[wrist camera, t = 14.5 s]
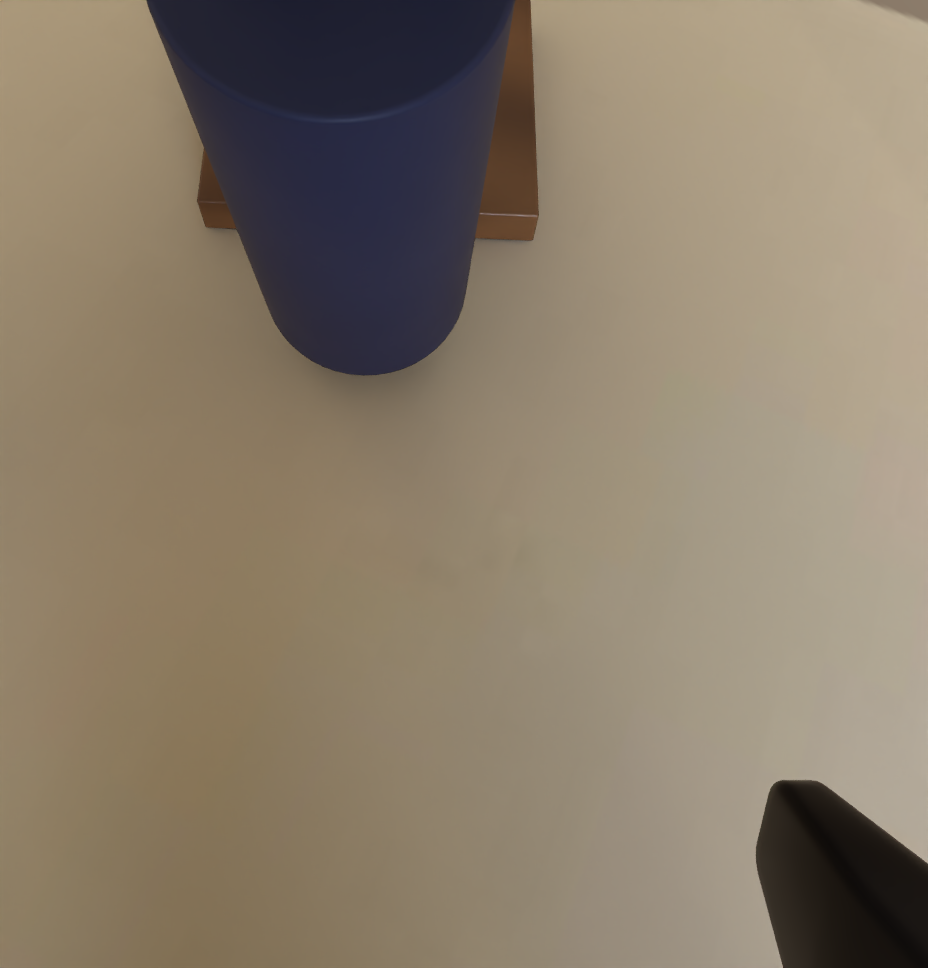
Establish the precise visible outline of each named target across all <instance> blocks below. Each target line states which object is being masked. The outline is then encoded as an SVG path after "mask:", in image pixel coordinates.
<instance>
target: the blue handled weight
mask: <svg viewBox="0 0 928 968" xmlns="http://www.w3.org/2000/svg"><path fill="white" fill-rule="evenodd" d="M146 1H147V4H148V7H149V10H150V13H151V15H152V18H153V20H154V23H155V25H156V28H157V30H158V33H159V35H160V38H161V40H162V43H163V45H164V48H165V50H166V53H167V55H168V58H169V60H170V63H171V65H172V68H173V70H174V73H175V75H176V78H177V80H178V83H179V85H180V88H181V90H182V93H183V95H184V98H185V100H186V103H187V105H188V108H189V110H190V113H191V115H192V118H193V121H194V123H195V126H196V128H197V131H198V133H199V136H200V138H201V141H202V143H203V146H204V148H205V151H206V153H207V156H208V158H209V161H210V163H211V166H212V168H213V171H214V173H215V176H216V178H217V181H218V183H219V186H220V188H221V191H222V193H223V196H224V198H225V201H226V203H227V206H228V208H229V211H230V213H231V216H232V218H233V221H234V223H235V226H236V228H237V231H238V233H239V236H240V239H241V241H242V244H243V246H244V249H245V251H246V254H247V256H248V259H249V261H250V264H251V266H252V269H253V271H254V274H255V276H256V279H257V281H258V284H259V286H260V289H261V291H262V294H263V296H264V299H265V301H266V304H267V306H268V309H269V311H270V314H271V316H272V318H273V320H274V322H275V324H276V326H277V327H278V329H279V330H280V332H281V333H282V335H283V336H284V337H285V338H286V340H287V341H288V342H289V343H290V344H291V345H292V346H293V347H294V348H295V349H296V350H298V351H299V352H300V353H301V354H302V355H304V356H305V357H307V358H308V359H310V360H311V361H313V362H315V363H317V364H319V365H321V366H323V367H326V368H328V369H331V370H334V371H337V372H342V373H346V374H353V375H379V374H385V373H391V372H394V371H397V370H401V369H404V368H406V367H408V366H410V365H413V364H415V363H417V362H418V361H420V360H422V359H423V358H425V357H426V356H428V355H429V354H430V353H431V352H433V351H434V350H435V349H436V348H437V347H438V346H439V345H440V344H441V343H442V342H443V341H444V340H445V339H446V337H447V336H448V335H449V333H450V332H451V331H452V329H453V327H454V325H455V324H456V322H457V320H458V318H459V315H460V312H461V310H462V307H463V303H464V298H465V294H466V288H467V282H468V276H469V270H470V264H471V258H472V252H473V247H474V241H475V235H476V229H477V223H478V217H479V211H480V205H481V199H482V193H483V188H484V182H485V176H486V170H487V164H488V158H489V152H490V146H491V140H492V134H493V128H494V123H495V117H496V111H497V105H498V99H499V93H500V87H501V81H502V75H503V69H504V64H505V58H506V52H507V46H508V40H509V34H510V28H511V22H512V16H513V10H514V5H515V0H146Z"/></svg>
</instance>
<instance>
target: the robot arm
mask: <svg viewBox="0 0 928 968" xmlns="http://www.w3.org/2000/svg"><path fill="white" fill-rule="evenodd" d="M756 864H757V871H758V875H759V879H760V883H761V886H762V890H763V894H764V897H765V901H766V905H767V909H768V912H769V916H770V920H771V924H772V927H773V931H774V935H775V939H776V942H777V946H778V950H779V954H780V957H781V961H782V965H783V968H928V863H926V862H925V861H924V860H922V859H921V858H920V857H918V856H917V855H916V854H914V853H913V852H912V851H911V850H909V849H908V848H907V847H905V846H904V845H903V844H901V843H900V842H899V841H897V840H896V839H895V838H893V837H892V836H891V835H890V834H888V833H887V832H886V831H884V830H883V829H882V828H880V827H879V826H878V825H876V824H875V823H874V822H873V821H871V820H870V819H869V818H867V817H866V816H865V815H863V814H862V813H861V812H859V811H858V810H857V809H856V808H854V807H853V806H852V805H850V804H849V803H848V802H846V801H845V800H844V799H842V798H841V797H840V796H838V795H837V794H836V793H835V792H833V791H832V790H831V789H829V788H828V787H827V786H825V785H824V784H822V783H820V782H818V781H812V780H782V781H778V782H776V783H775V784H773V786H772V787H771V789H770V792H769V795H768V799H767V803H766V807H765V811H764V816H763V820H762V824H761V828H760V832H759V836H758V841H757V846H756Z"/></svg>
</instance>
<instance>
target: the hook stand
mask: <svg viewBox="0 0 928 968" xmlns="http://www.w3.org/2000/svg"><path fill="white" fill-rule="evenodd" d="M197 202H198V205H199V208H200V211H201V214H202V217H203V220H204V223H205V226H206V227H212V228H236V226H235V223H234V221H233V218H232V216H231V213H230V211H229V208H228V206H227V203H226V201H225V198H224V196H223V193H222V191H221V188H220V186H219V183H218V181H217V178H216V176H215V173H214V171H213V168H212V166H211V163H210V161H209V158H208V156H207V153H206V151H205V148H204V152H203V160H202V168H201V176H200V183H199V191H198V199H197ZM538 216H539V211H538V185H537V159H536V133H535V107H534V81H533V54H532V28H531V2H530V0H515V5H514V10H513V16H512V22H511V28H510V34H509V40H508V46H507V52H506V58H505V64H504V69H503V75H502V81H501V87H500V93H499V99H498V105H497V111H496V117H495V123H494V128H493V134H492V140H491V146H490V152H489V158H488V164H487V170H486V176H485V182H484V188H483V193H482V199H481V205H480V211H479V217H478V223H477V229H476V235H475V238H485V239H510V240H533V238H534V234H535V229H536V225H537V220H538Z"/></svg>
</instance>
